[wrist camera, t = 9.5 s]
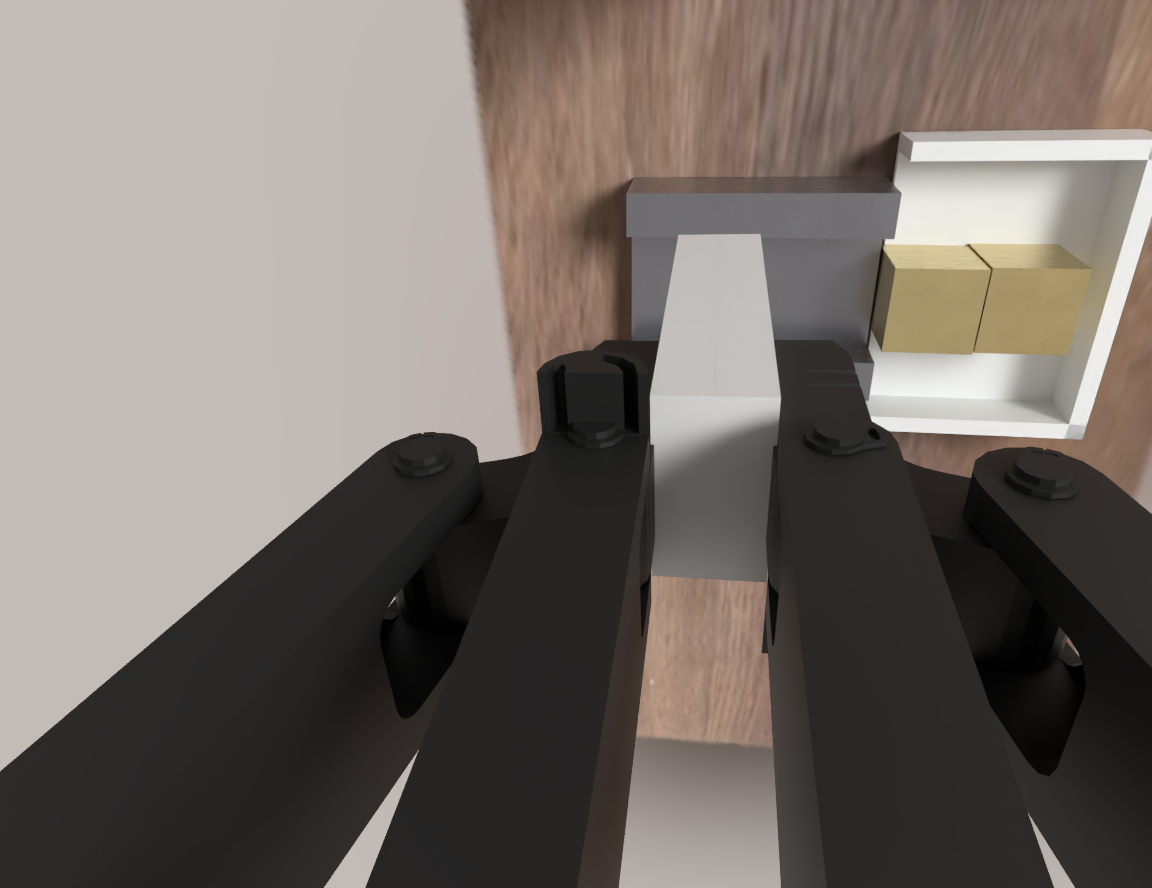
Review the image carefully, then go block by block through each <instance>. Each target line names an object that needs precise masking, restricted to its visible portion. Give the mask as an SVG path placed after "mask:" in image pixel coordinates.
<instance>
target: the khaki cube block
mask: <svg viewBox="0 0 1152 888" xmlns="http://www.w3.org/2000/svg"><path fill="white" fill-rule="evenodd" d="M968 247H969V248H970V249H971V250H972V251H973V252H974V253H975V254H976V255H977V256H978V257H979V258H980V259H981V260H982V261H983V262H984V263H985V264H986V265H987V266H988V267H989V268H990V269H991V274H990V278H989V283H988V287H987V291H986V296H985V300H984V304H983V309H982V313H981V318H980V322H979V326H978V331H977V335H976V339H975V344H974V348H973V352H974V353H995V354H1028V355H1061V356H1068V353H1069V350H1070V346H1071V343H1072V339H1073V336H1074V332H1075V329H1076V325H1077V322H1078V318H1079V315H1080V311H1081V308H1082V304H1083V301H1084V297H1085V294H1086V290H1087V287H1088V283H1089V280H1090V276H1091V273H1092V270H1093V269H1092V268H1090V267H1089V266H1087V265H1086V264H1085V263H1083V262H1082V261H1081V260H1079V259H1078V258H1077V257H1075V256H1074V255H1072V254H1071V253H1070V252H1068V251H1067V250H1066V249H1064V248H1063V247H1062V246H1060V245H1059V244H972V243H969V245H968Z"/></svg>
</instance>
